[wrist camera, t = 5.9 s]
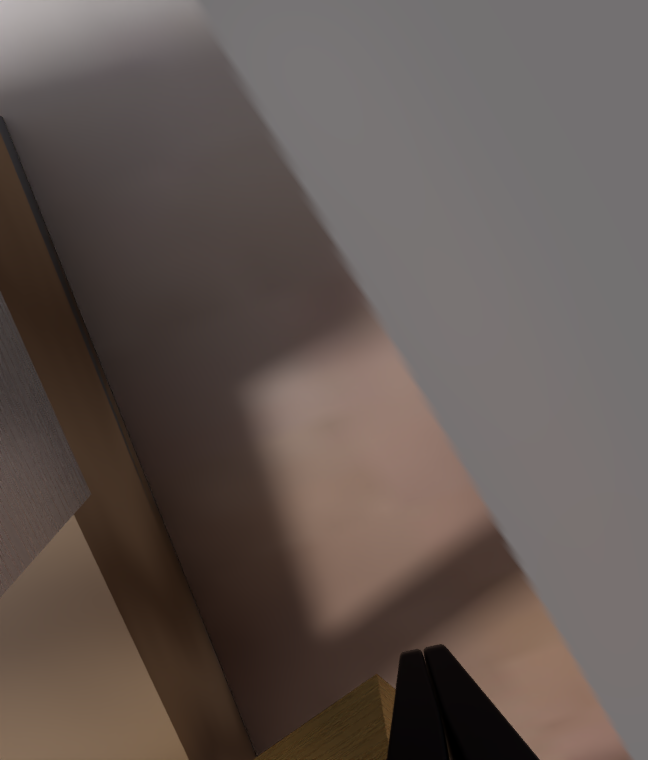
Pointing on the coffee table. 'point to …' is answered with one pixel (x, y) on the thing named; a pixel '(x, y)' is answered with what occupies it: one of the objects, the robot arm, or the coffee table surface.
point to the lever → (343, 728)
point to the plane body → (97, 560)
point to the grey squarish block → (30, 460)
